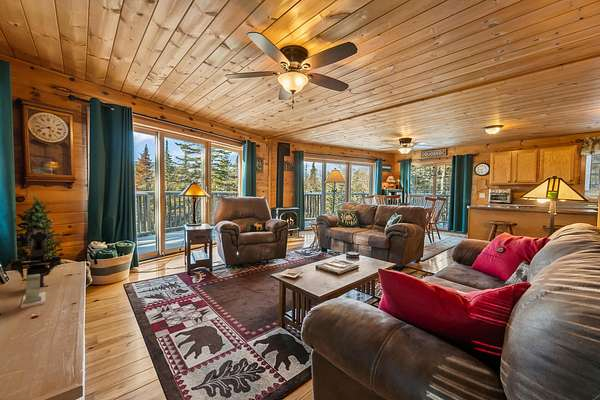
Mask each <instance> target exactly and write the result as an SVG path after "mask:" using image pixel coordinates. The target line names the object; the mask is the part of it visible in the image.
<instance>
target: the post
mask: <svg viewBox="0 0 600 400" xmlns="http://www.w3.org/2000/svg"><path fill="white" fill-rule="evenodd" d="M40 288H41V287H40V274H35V275H27V274H26V280H25V295H26V301H25V303H26V302H32V301H38V300H39V293H40Z"/></svg>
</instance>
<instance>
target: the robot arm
mask: <svg viewBox="0 0 600 400" xmlns="http://www.w3.org/2000/svg"><path fill="white" fill-rule="evenodd" d="M49 240H50V235H49V234H47V232H44V229H41V228H40V229H32V230H31V232H30V233H29V234H28V235H27V244H28V247H29V248H30V251H29V257H28V261H23V259H15V260H13V259H12V260H11V261H10V263H9V265H10V270H11V271H15V272H18V273H19V274H20V277H21V279H24V266H28V267H26V276H27V275H35V274H40V288H44V287H45V281H44V280H45V277H47V276H49V275H50V274H51V272H52V270H54V268H55V267H58V266H61V263H62V260H61V259H62V257H61V256H60V255H55V256H54V255H53V256H51V257H50V259H45V258H46V255H49V247H46V246H47V241H49ZM47 264H49V265H47Z"/></svg>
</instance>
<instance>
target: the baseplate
mask: <svg viewBox="0 0 600 400" xmlns="http://www.w3.org/2000/svg"><path fill="white" fill-rule="evenodd" d="M46 295H47V293H46V291H43V292H39V300H38V301H32V302H26V303H25V301H26V294H24V295H23V298H22V302H21V306H20V307H21V309H22V308H28V307H33V306H38V305H44V304H46Z"/></svg>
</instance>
